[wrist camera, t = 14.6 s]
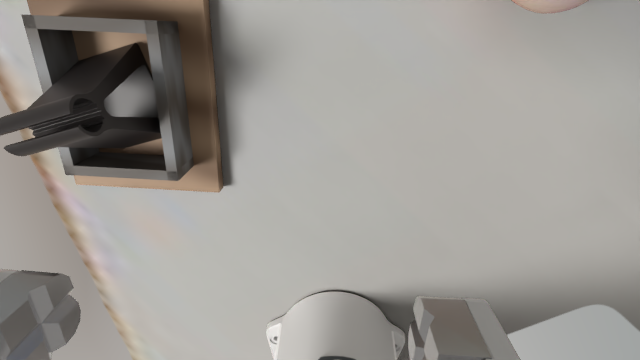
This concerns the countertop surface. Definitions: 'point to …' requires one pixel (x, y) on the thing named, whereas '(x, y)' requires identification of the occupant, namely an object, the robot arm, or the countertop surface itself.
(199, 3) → the socket board
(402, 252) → the countertop surface
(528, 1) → the decorative fruit
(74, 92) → the phone stand
